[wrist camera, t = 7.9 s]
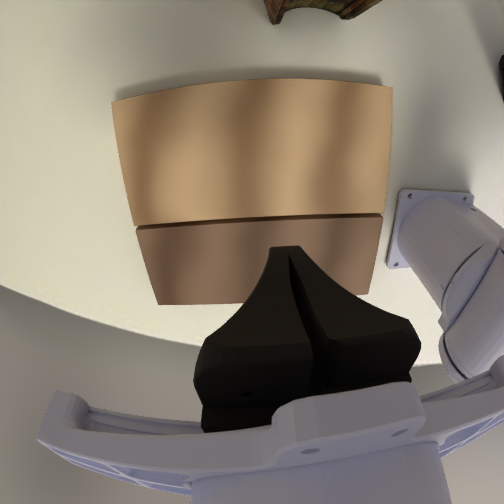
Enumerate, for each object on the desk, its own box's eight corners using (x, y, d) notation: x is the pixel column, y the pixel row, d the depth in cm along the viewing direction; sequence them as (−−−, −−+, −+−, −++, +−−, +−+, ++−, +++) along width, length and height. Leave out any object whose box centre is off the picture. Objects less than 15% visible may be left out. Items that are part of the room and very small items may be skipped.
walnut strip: (375, 209, 22) (383, 217, 21) (362, 283, 26) (367, 294, 25) (141, 221, 23) (135, 230, 21) (162, 294, 27) (158, 304, 25)
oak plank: (383, 87, 17) (392, 87, 15) (376, 205, 22) (383, 212, 20) (119, 101, 17) (111, 102, 16) (140, 218, 22) (134, 225, 21)
